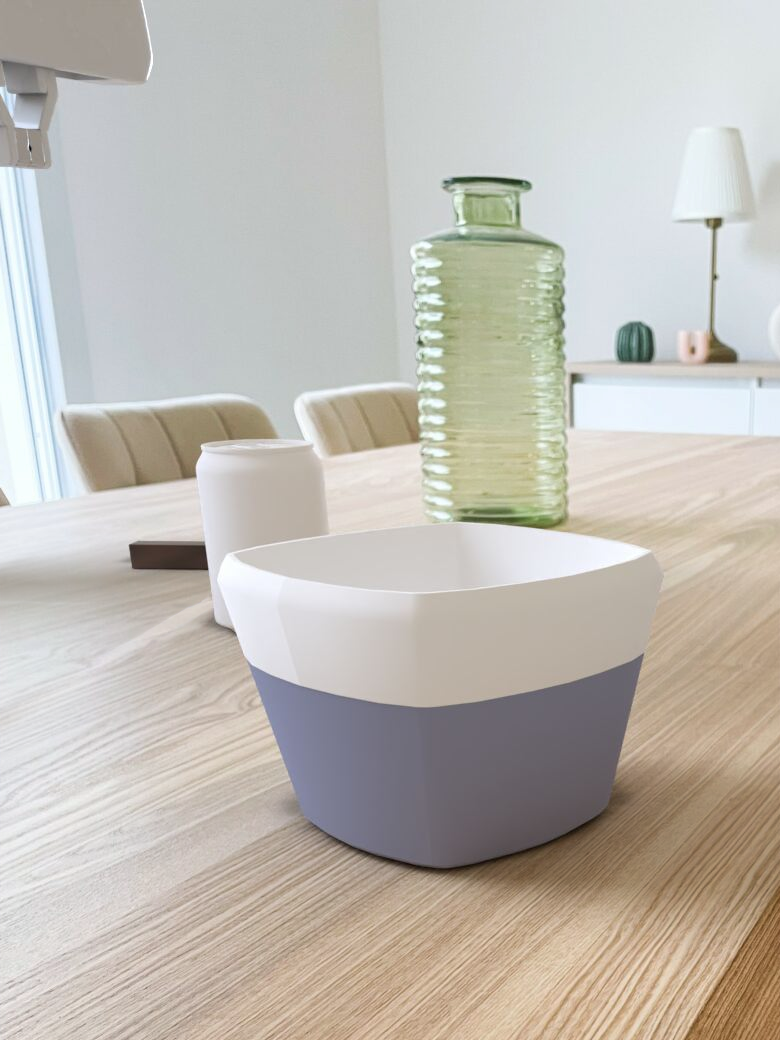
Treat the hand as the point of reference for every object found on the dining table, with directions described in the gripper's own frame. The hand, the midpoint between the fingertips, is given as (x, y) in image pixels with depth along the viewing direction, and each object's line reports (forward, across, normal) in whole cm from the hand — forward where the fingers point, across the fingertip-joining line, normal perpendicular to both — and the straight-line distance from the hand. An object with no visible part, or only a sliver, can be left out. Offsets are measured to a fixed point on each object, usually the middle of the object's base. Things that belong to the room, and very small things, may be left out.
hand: (19, 168), depth 68 cm
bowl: (+26, +16, +32) cm, 44 cm away
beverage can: (+27, -13, +4) cm, 31 cm away
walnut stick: (+28, -30, -15) cm, 44 cm away
